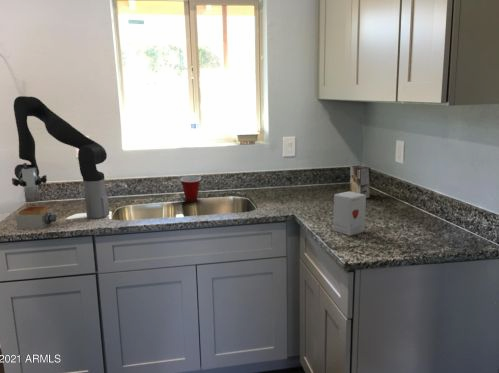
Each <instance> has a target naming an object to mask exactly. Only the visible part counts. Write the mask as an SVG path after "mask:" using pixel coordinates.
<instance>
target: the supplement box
mask: <svg viewBox="0 0 499 373" xmlns="http://www.w3.org/2000/svg"><path fill="white" fill-rule="evenodd" d="M333 195H334V196H333V218H332V219H333V220H332V221H333V222H332V224H333V225H332V226H333V227H332V231H334V232H338V233H340V234H344V235H347V236H353V235H358V234H360V233H363V232H365V230H366V225H365V224H366V209H367V208H366V207H367V206H366V202H367V198H366V195H364V194H359V193H355V192H350V190H349V191H344V192H340V193H335V194H333Z"/></svg>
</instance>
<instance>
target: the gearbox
mask: <svg viewBox="0 0 499 373" xmlns="http://www.w3.org/2000/svg"><path fill="white" fill-rule="evenodd" d="M15 220H16V228H17V230H43V229H45V228H47V227H49V226H50V225H52V224H53V223H54V222H57V215H55V214H54V211H53V208H50V206H49V205H45V206H44V205H37V206H35V205H32V206H27V207H25V208H24V209H21V210H19V211H18V214H15Z"/></svg>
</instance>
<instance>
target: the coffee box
mask: <svg viewBox="0 0 499 373" xmlns="http://www.w3.org/2000/svg"><path fill="white" fill-rule="evenodd" d="M349 182H350V183H349V191H350V192H355V193H359V194H364V195H366V199H368V198H370V192H371V191H370V190H371V188H370V187H371V167H369V166H366V165H365V166H364V165H352V166H350V181H349Z"/></svg>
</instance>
